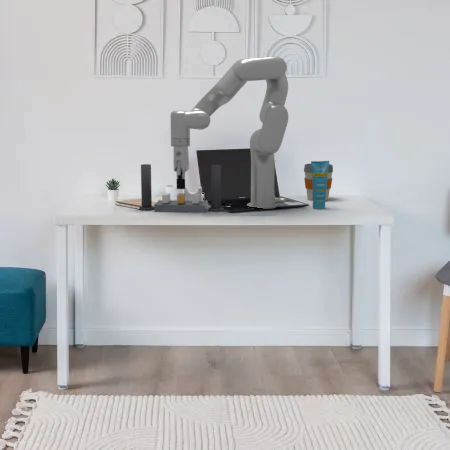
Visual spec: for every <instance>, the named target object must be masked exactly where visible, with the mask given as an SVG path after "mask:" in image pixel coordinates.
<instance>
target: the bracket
mask: <svg viewBox="0 0 450 450" xmlns="http://www.w3.org/2000/svg"><path fill="white" fill-rule="evenodd" d="M183 193H185V200H191V201H192V195H193V194H200V201H204V200H203V198H204V199H205V193H204V194H202V193H203V186H199V187H198V190H197V191H195V192H192V191H189V189H188V186H185V189H183Z"/></svg>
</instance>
